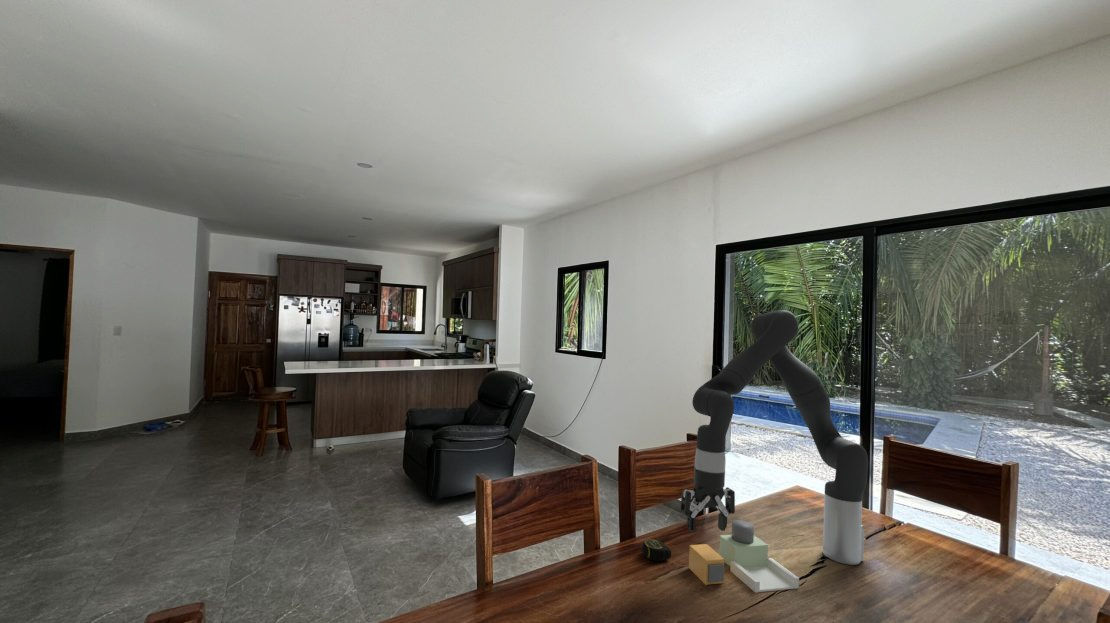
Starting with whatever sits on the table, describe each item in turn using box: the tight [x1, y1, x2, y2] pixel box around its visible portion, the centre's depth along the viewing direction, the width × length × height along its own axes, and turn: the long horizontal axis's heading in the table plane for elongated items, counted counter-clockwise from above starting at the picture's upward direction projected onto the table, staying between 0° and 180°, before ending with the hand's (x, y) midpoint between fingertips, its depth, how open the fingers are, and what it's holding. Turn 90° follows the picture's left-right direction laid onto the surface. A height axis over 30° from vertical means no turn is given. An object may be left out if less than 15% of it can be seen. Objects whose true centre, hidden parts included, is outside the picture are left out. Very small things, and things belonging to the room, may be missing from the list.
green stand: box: [718, 519, 800, 594], centre depth 123 cm, size 12×17×10 cm
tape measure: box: [641, 538, 672, 562], centre depth 128 cm, size 7×7×4 cm
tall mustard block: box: [688, 543, 725, 586], centre depth 119 cm, size 5×9×6 cm, turn 14°
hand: (706, 530), depth 120 cm, fingers open, 8 cm apart
